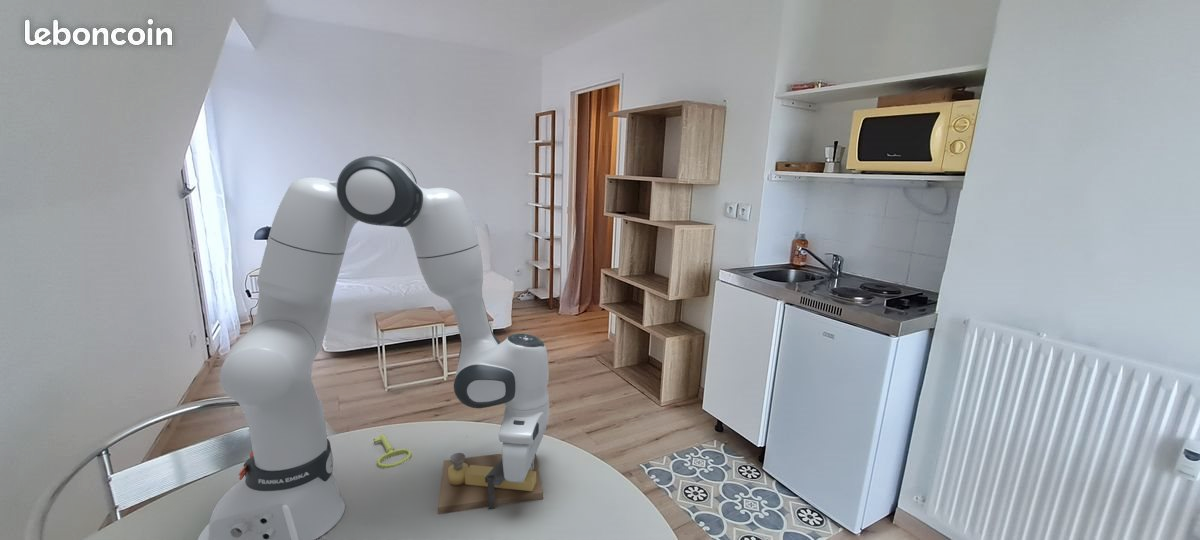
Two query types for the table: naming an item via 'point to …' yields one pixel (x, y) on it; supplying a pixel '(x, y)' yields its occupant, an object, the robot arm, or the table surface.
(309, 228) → the robot arm
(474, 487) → the board
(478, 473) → the link
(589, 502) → the table surface
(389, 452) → the key
